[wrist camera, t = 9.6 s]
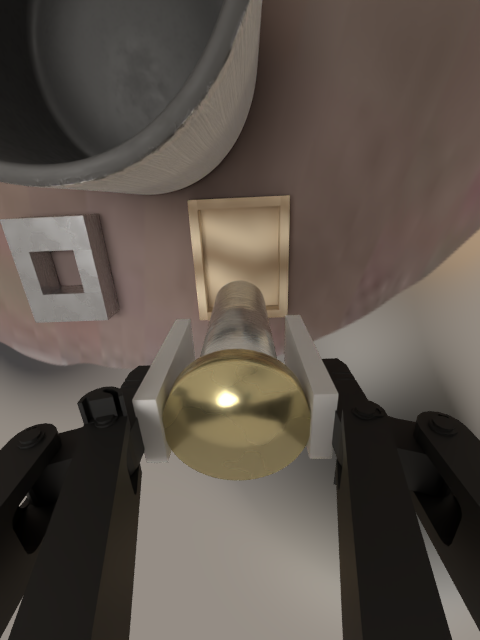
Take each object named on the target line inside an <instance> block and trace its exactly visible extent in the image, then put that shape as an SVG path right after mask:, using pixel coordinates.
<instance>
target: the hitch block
mask: <svg viewBox="0 0 480 640" xmlns="http://www.w3.org/2000/svg"><path fill="white" fill-rule="evenodd" d="M0 222H1V225H2V228H3V231H4V233H5V236H6V239H7V242H8V245H9V248H10V250H11V253H12V256H13V259H14V262H15V265H16V268H17V270H18V273H19V276H20V279H21V282H22V285H23V287H24V290H25V293H26V296H27V299H28V302H29V305H30V307H31V310H32V313H33V316H34V319H35V322H36V323H39V322H66V321H92V320H109V319H110V318H111V317H112V316H113V315H114V314H115V313H116V312H117V311H118V310H119V305H118V301H117V296H116V292H115V287H114V283H113V278H112V274H111V269H110V265H109V260H108V256H107V251H106V247H105V242H104V238H103V233H102V229H101V225H100V220H99V216H98V214H85V215H63V216H42V217H22V218H11V219H0ZM61 250H73V251H74V255H75V259H76V262H77V266H78V270H79V274H80V277H81V281H82V286H60V284H59V281H58V277H57V274H56V270H55V267H54V264H53V260H52V257H51V254H50V251H61Z"/></svg>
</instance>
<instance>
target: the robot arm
mask: <svg viewBox="0 0 480 640" xmlns="http://www.w3.org/2000/svg"><path fill="white" fill-rule="evenodd" d="M193 361H195V352H194V344H193V336H192V328H191V319H176V321H175V322H174V324H173V326H172V328H171V330H170V332H169V333H168V335H167V337H166V339H165V341H164V343H163V344H162V346H161V348H160V350H159V352H158V354H157V355H156V357H155V359H154V361H153V363H152V365H151V366H138V367H137V368H135V369H134V370H133V371H131V372H130V373H129V375H128V377H127V378H126V379H125V382H124V383H123V384H122V386H121V388H120V389H119V388H116V387H102V388H99V389H96V390H93V391H91V392H89V393H87V394H86V395H85V396H83V397H82V398H81V399H80V401H79V402H78V403H77V404H78V407H79V410H80V413H81V416H82V419H83V422H84V426H83V427H81V428H78V429H74V430H71V431H66V432H63V433H58V431H57V429H56V427H55V426H54V425H52V424H47V423H45V424H38V425H34V426H32V427H29V428H27V429H25V430H23V431H21V432H20V433H18V434H17V435H15V436H14V437H13V438H12V439H11V440H10V441H9V442H8V443H7V444H6V445H5V446H4V447H3V448H2V449H1V450H0V638H1V636H2V634H3V632H4V630H5V629H6V627H7V625H8V623H9V621H10V619H11V618H12V616H13V614H14V612H15V610H16V608H17V606H18V605H19V603H20V601H21V599H22V597H23V599H22V602H21V605H20V607H19V611H18V613H17V616H16V619H15V622H14V624H13V627H12V630H11V633H10V636H9V639H8V640H129V633H130V620H131V607H132V594H133V581H134V568H135V555H136V542H137V529H138V515H139V504H140V491H141V477H142V471H141V466H140V461H141V458H142V455H143V453H145V458H146V462H147V463H158V462H159V463H160V462H168V460H169V457H170V453H171V448H170V447H169V445H168V443H167V441H166V437H165V432H164V427H163V422H162V418H163V412H164V408H165V405H166V402H167V400H168V397H169V394H170V391H171V389H172V386H173V384H174V382H175V380H176V379H177V377H178V375H179V374H180V373H181V372H182V371H183V369H185V368H186V367H187V366H188V365H189V364H190V363H192V362H193ZM285 365H286V366H287V367H288V368H289V369H290V370H291V371H292V372H293V373H294V374H295V376H296V377H297V378H298V380H299V382H300V384H301V386H302V388H303V391H304V394H305V397H306V400H307V404H308V407H309V410H310V415H311V422H310V436H309V439H308V442H307V444H306V447H307V451H308V454H309V458H310V459H317V458H318V459H320V458H332V449H333V448H334V451H335V454H336V457H337V460H336V469H335V477H334V484H335V485H336V490H337V513H338V536H339V559H340V582H341V605H342V627H343V640H452V637H451V634H450V631H449V627H448V624H447V620H446V617H445V613H444V610H443V606H442V603H441V599H440V596H439V593H438V589H437V586H436V582H435V579H434V575H433V571H432V568H431V565H430V561H429V558H428V554H427V551H426V547H425V544H424V540H423V537H422V534H421V530H420V526H419V523H418V519H417V516H416V514H417V515H418V517H419V519H420V521H421V523H422V525H423V527H424V528H425V530H426V532H427V534H428V536H429V538H430V540H431V541H432V543H433V545H434V547H435V549H436V551H437V553H438V554H439V556H440V558H441V560H442V562H443V564H444V566H445V568H446V569H447V571H448V573H449V575H450V577H451V579H452V581H453V582H454V584H455V586H456V588H457V590H458V592H459V594H460V595H461V597H462V599H463V601H464V603H465V605H466V606H467V608H468V610H469V612H470V614H471V616H472V618H473V619H474V621H475V623H476V625H477V627H478V629H479V631H480V440H479V439H478V438H477V437H476V436H475V435H474V434H473V433H472V432H471V431H470V430H469V429H468V428H467V427H466V426H465V425H464V424H463V423H461V422H460V421H459V420H457V419H455V418H453V417H451V416H449V415H446V414H443V413H440V412H432V411H428V412H423V413H421V414H419V415H418V416H417V420H416V422H412V421H407V420H401V419H396V418H393V417H390V416H388V415H387V414H386V412H385V410H384V409H383V408H382V407H380V406H379V405H378V404H376V403H374V402H372V401H368V399H367V398H366V396H365V394H364V393H363V391H362V389H361V388H360V386H359V385H358V383H357V381H356V380H355V378H354V377H353V375H352V374H351V372H350V370H349V368H348V367H347V365H346V364H344V363H343V362H342V361H340V360H339V359H337V358H335V359H321V357H320V355H319V353H318V351H317V349H316V347H315V345H314V343H313V341H312V339H311V336H310V334H309V332H308V330H307V328H306V326H305V324H304V322H303V320H302V318H301V316H300V315H285ZM25 496H27V498H26V500H25V501H24V502H23V503H22V505H21V506H20V507H19V504H20V503H21V501H22V500H23V499H24V497H25ZM415 512H416V513H415ZM23 595H24V596H23Z"/></svg>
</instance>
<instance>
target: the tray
mask: <svg viewBox="0 0 480 640" xmlns="http://www.w3.org/2000/svg"><path fill="white" fill-rule="evenodd" d="M187 204H188V213H189V222H190V232H191V241H192V250H193V260H194V269H195V278H196V288H197V297H198V306H199V316H200V320H210V318H211V314H212V310H213V306H214V302H215V299H216V296H217V293H218V292H219V290H220V289H221V288H222V287H223V286H224V285H226V284H228V283H230V282H232V281H238V280H240V281H247V282H250V283H252V284H254V285H255V286H256V287H258V288H259V289H260V291H261V292H262V294H263V296H264V300H265V305H266V310H267V314H268V318H273V317H285V315H287V310H288V265H289V219H290V195H287V196H266V197H245V198H225V199H204V200H187Z"/></svg>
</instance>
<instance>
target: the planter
mask: <svg viewBox="0 0 480 640" xmlns="http://www.w3.org/2000/svg"><path fill="white" fill-rule="evenodd" d="M261 11H262V0H0V182H4V183H9V184H15V185H23V186H32V187H44V188H62V189H78V190H92V191H105V192H116V193H127V194H140V195H154V194H163V193H169V192H173V191H176V190H179V189H182V188H185V187H187V186H189V185H192V184H193V183H195V182H197V181H199V180H200V179H202V178H203V177H205V176H206V175H207V174H209V173H210V172H211V171H212V170H213V169H214V168H215V167H216V166H218V165H219V163H220V162H221V161H222V160H223V159H224V158H225V156H226V155H227V154H228V153H229V151H230V150H231V148H232V147H233V145H234V144H235V142H236V140H237V139H238V137H239V135H240V133H241V131H242V128H243V126H244V124H245V121H246V119H247V116H248V113H249V110H250V106H251V103H252V99H253V94H254V89H255V83H256V76H257V66H258V54H259V40H260V25H261Z"/></svg>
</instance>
